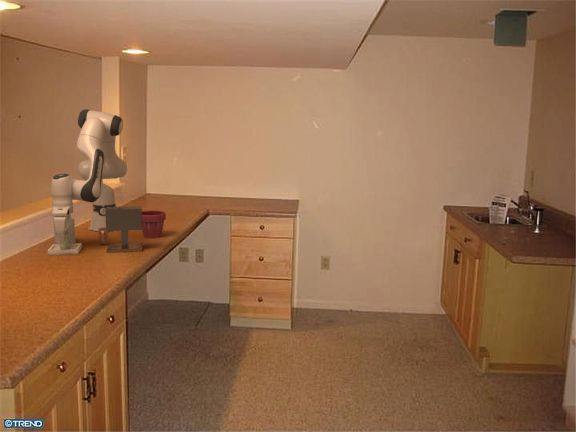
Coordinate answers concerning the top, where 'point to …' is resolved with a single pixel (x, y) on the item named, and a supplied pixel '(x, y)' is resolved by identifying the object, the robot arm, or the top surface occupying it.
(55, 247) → the tray
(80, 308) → the top surface
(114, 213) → the mounted unit
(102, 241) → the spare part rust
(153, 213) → the plant pot
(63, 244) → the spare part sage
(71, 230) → the supplement box
